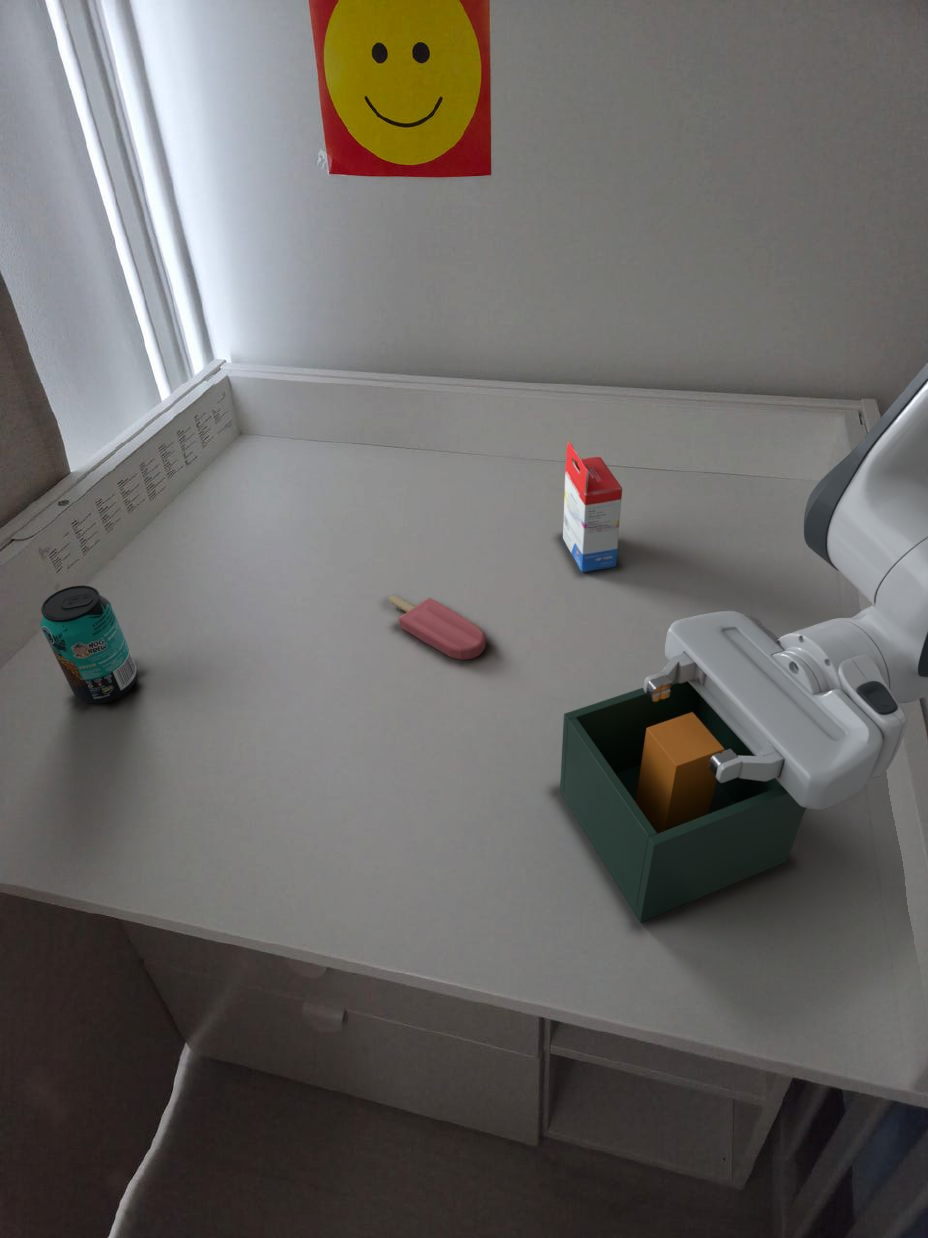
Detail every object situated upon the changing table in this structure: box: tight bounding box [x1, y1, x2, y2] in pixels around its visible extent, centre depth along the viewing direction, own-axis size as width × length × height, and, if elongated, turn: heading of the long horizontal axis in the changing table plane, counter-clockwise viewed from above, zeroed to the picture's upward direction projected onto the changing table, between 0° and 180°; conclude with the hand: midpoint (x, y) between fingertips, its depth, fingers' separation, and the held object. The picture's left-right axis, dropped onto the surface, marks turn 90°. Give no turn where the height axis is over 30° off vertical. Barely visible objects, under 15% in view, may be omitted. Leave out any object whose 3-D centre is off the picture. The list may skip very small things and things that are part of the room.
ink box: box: [562, 441, 623, 573], centre depth 103 cm, size 8×5×15 cm, turn 12°
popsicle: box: [388, 595, 486, 661], centre depth 96 cm, size 5×2×15 cm
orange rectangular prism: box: [636, 712, 724, 834], centre depth 70 cm, size 4×4×11 cm
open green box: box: [559, 679, 807, 923], centre depth 70 cm, size 15×15×11 cm
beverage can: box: [40, 585, 139, 704], centre depth 88 cm, size 7×7×12 cm
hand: (679, 728), depth 65 cm, fingers open, 8 cm apart
